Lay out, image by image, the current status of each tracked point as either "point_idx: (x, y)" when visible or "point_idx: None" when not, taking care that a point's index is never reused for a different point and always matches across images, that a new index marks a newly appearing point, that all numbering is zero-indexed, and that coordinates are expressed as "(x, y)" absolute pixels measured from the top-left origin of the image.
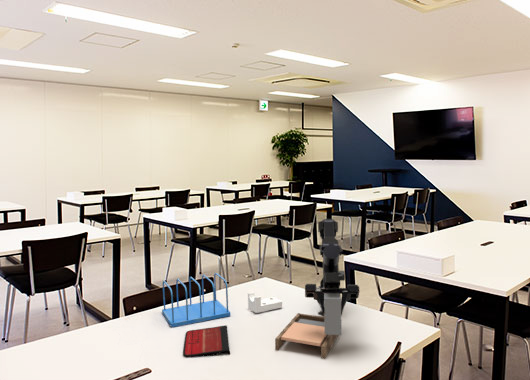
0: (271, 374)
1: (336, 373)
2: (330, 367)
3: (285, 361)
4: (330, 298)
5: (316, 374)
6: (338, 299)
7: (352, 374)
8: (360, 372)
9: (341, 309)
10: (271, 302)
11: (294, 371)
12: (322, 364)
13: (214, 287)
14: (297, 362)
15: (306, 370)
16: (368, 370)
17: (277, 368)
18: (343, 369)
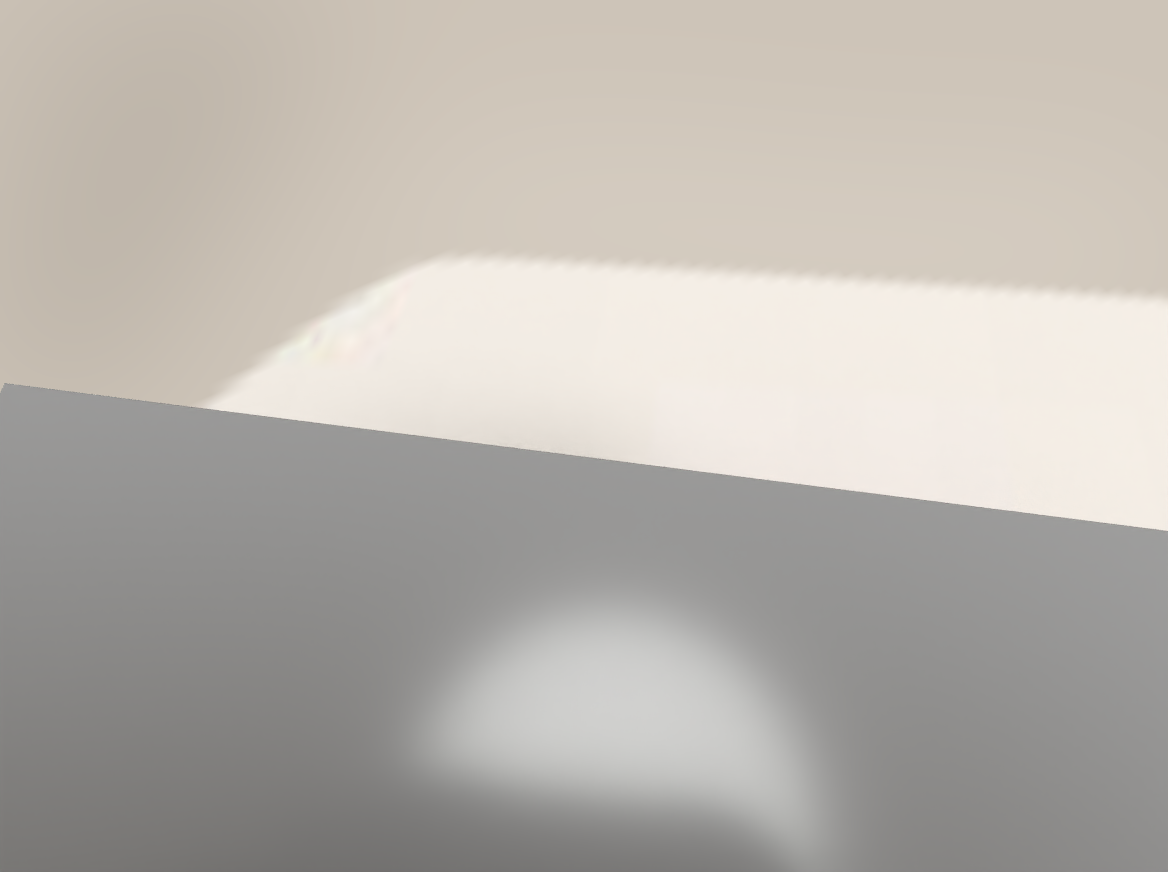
0: (1112, 308)
1: (601, 291)
2: (636, 381)
3: (1037, 506)
4: (877, 584)
5: (762, 287)
6: (240, 426)
7: (476, 270)
8: (402, 293)
9: None
10: None
11: (938, 339)
12: (700, 434)
13: None
14: (925, 481)
15: (841, 347)
16: (324, 317)
17: (1084, 391)
18: (530, 344)
